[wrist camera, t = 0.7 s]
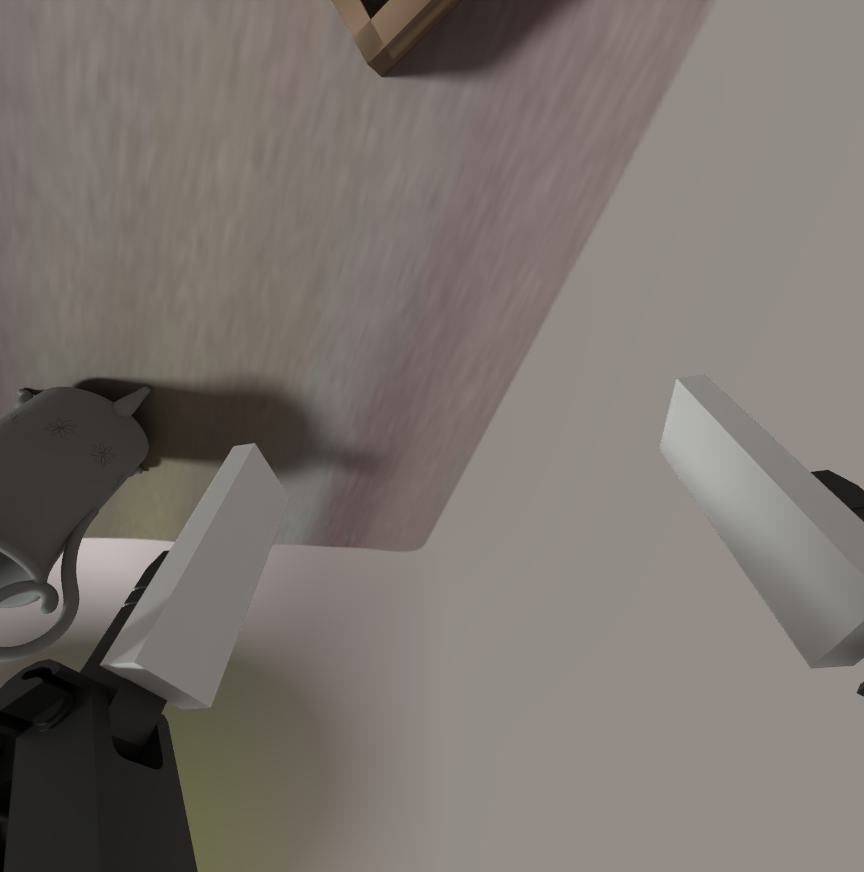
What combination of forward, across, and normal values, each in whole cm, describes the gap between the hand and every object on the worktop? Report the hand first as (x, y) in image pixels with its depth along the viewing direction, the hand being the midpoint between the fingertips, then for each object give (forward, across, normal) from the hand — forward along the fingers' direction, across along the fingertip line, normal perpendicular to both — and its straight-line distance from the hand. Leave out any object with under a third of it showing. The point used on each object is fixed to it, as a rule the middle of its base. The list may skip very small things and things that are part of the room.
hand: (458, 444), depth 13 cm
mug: (+27, -41, -12) cm, 51 cm away
